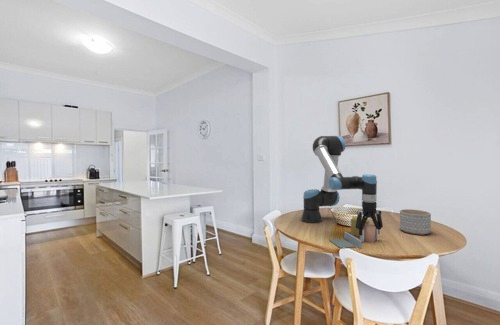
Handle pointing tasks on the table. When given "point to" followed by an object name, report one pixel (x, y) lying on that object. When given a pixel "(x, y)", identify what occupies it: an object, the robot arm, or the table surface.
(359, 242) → the divider wall
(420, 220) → the planter
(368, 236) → the pink rounded cylinder
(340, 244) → the mat
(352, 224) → the cheese
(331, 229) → the table surface
